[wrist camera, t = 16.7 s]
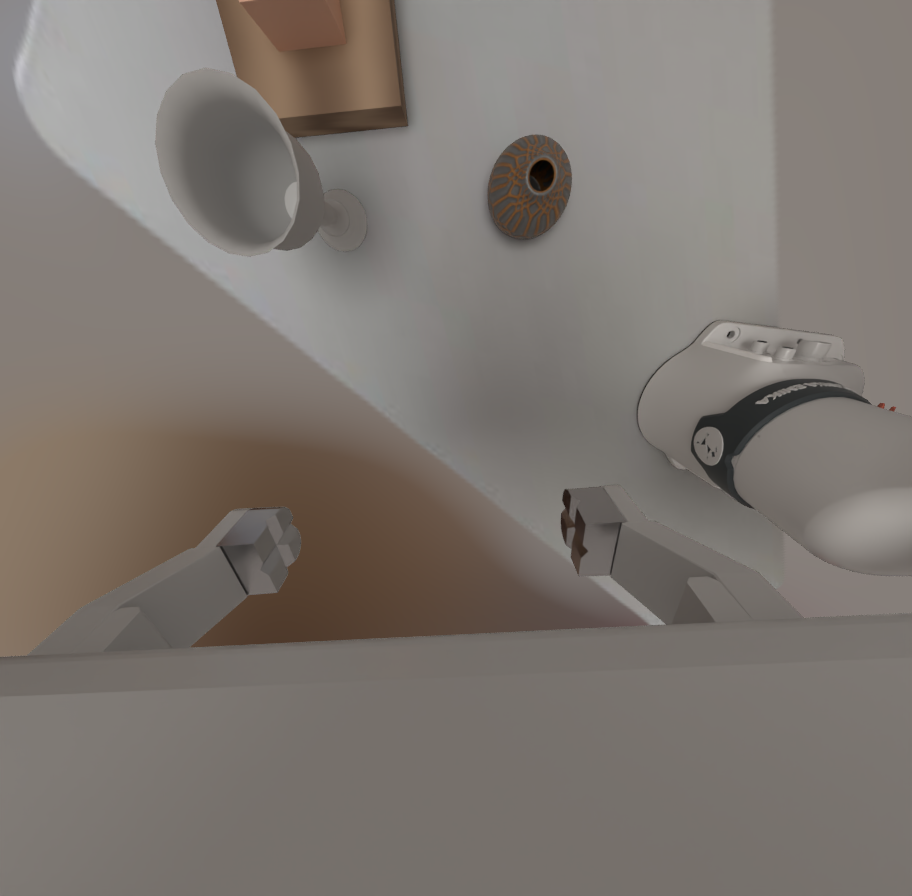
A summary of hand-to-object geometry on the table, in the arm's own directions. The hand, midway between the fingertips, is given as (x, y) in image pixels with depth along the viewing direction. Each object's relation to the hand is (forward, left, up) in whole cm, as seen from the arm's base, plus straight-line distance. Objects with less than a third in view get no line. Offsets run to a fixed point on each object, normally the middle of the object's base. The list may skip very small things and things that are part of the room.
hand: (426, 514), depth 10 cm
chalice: (+9, -11, -31) cm, 35 cm away
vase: (-8, -12, -31) cm, 35 cm away
